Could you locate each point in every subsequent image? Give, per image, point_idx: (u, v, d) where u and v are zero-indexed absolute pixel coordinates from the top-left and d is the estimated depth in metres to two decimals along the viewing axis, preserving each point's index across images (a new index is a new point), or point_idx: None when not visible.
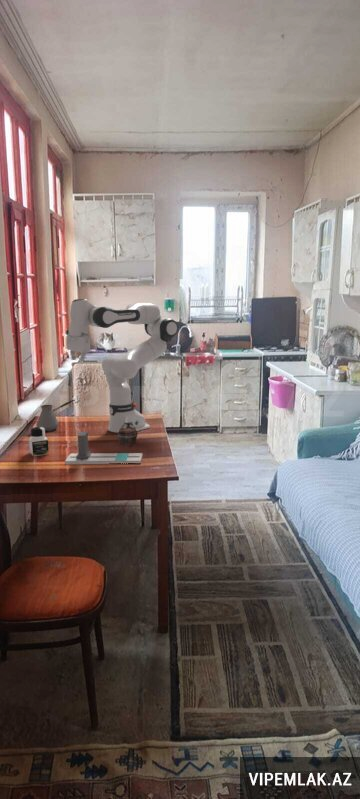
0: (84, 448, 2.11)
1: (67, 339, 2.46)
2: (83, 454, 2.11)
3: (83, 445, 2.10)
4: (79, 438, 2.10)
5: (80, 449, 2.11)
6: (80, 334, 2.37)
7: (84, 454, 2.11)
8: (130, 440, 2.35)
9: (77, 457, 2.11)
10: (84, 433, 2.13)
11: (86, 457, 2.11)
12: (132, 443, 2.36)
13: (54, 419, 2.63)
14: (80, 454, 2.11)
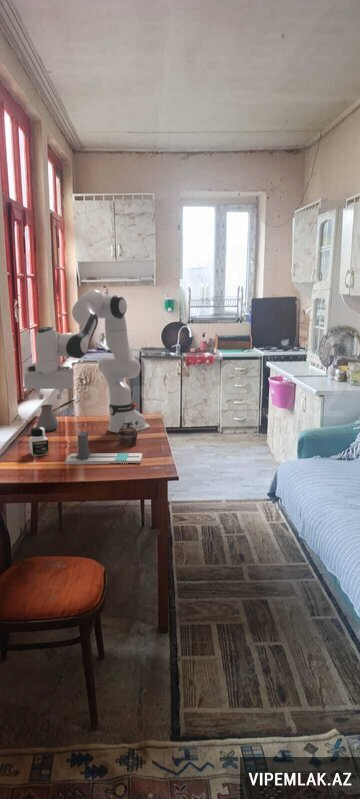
0: (84, 448, 2.11)
1: (28, 377, 2.05)
2: (83, 454, 2.11)
3: (83, 445, 2.10)
4: (79, 438, 2.10)
5: (80, 449, 2.11)
6: (57, 368, 2.06)
7: (84, 454, 2.11)
8: (130, 440, 2.35)
9: (77, 457, 2.11)
10: (84, 433, 2.13)
11: (86, 457, 2.11)
12: (132, 443, 2.36)
13: (54, 419, 2.63)
14: (80, 454, 2.11)
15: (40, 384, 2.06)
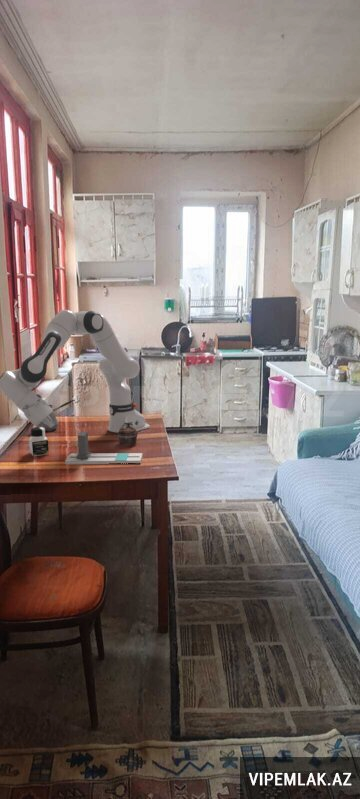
0: (84, 448, 2.11)
1: None
2: (83, 454, 2.11)
3: (83, 445, 2.10)
4: (79, 438, 2.10)
5: (80, 449, 2.11)
6: None
7: (84, 454, 2.11)
8: (130, 440, 2.35)
9: (77, 457, 2.11)
10: (84, 433, 2.13)
11: (86, 457, 2.11)
12: (132, 443, 2.36)
13: (54, 419, 2.63)
14: (80, 454, 2.11)
15: None
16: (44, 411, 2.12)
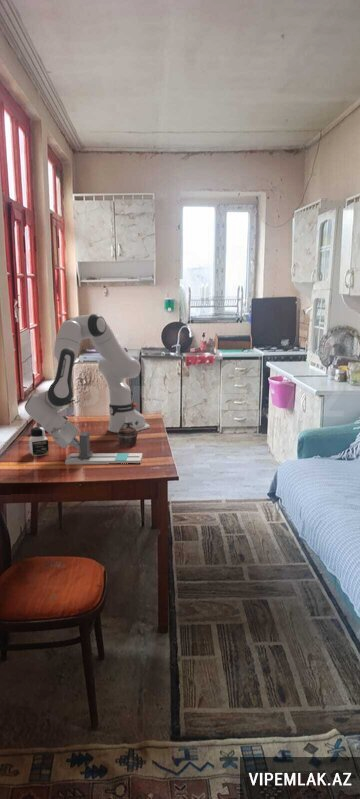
0: (86, 448, 2.11)
1: None
2: (84, 454, 2.11)
3: (85, 445, 2.10)
4: (81, 438, 2.10)
5: (82, 449, 2.11)
6: (53, 431, 2.08)
7: (86, 454, 2.11)
8: (130, 440, 2.35)
9: (79, 457, 2.11)
10: (86, 433, 2.13)
11: (88, 457, 2.11)
12: (132, 443, 2.36)
13: None
14: (82, 454, 2.11)
15: None
16: (71, 433, 2.14)
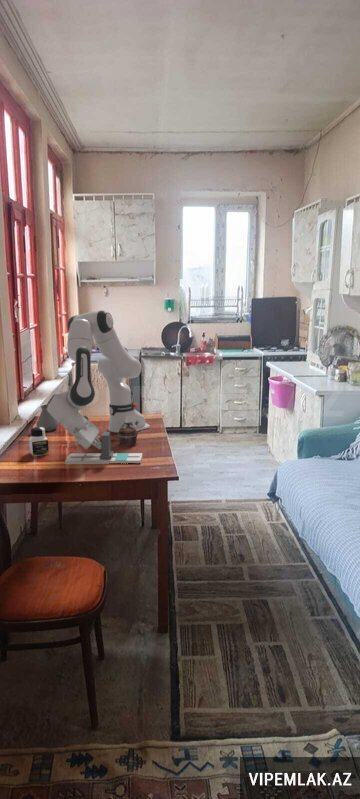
0: (107, 448, 2.10)
1: None
2: (106, 454, 2.11)
3: (106, 445, 2.10)
4: (102, 438, 2.09)
5: (103, 449, 2.10)
6: None
7: (107, 454, 2.11)
8: (130, 440, 2.35)
9: (100, 457, 2.11)
10: (107, 433, 2.12)
11: (109, 457, 2.11)
12: (132, 443, 2.36)
13: (54, 419, 2.63)
14: (103, 454, 2.11)
15: None
16: (92, 432, 2.13)
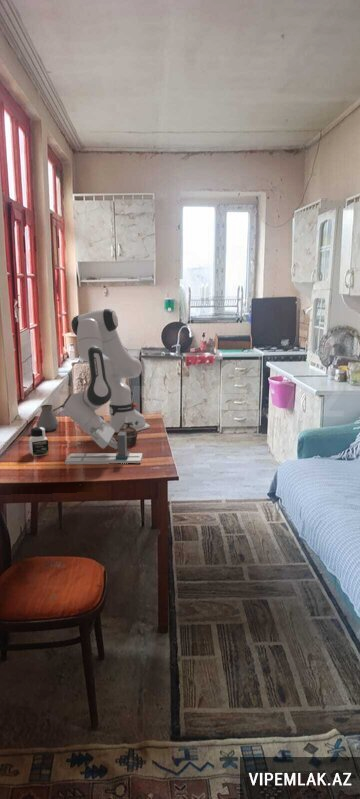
0: (124, 448, 2.10)
1: None
2: (122, 454, 2.11)
3: (123, 445, 2.10)
4: (119, 438, 2.09)
5: (120, 449, 2.10)
6: None
7: (124, 454, 2.11)
8: (130, 440, 2.35)
9: (117, 457, 2.11)
10: (123, 433, 2.12)
11: (126, 457, 2.10)
12: (132, 443, 2.36)
13: (54, 419, 2.63)
14: (120, 454, 2.11)
15: None
16: (109, 432, 2.13)
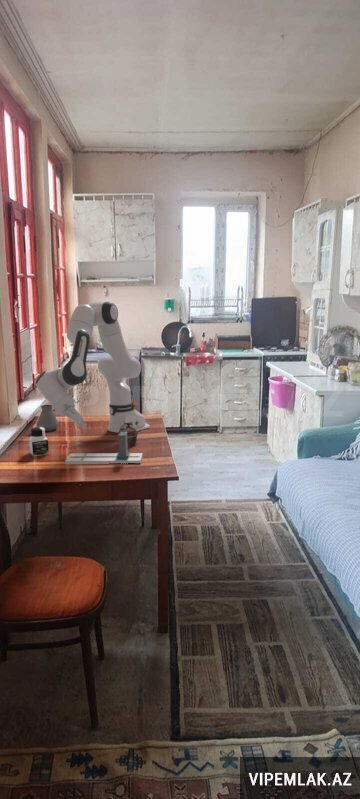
0: (124, 448, 2.10)
1: (65, 414, 2.20)
2: (123, 454, 2.11)
3: (124, 445, 2.10)
4: (120, 438, 2.09)
5: (120, 449, 2.10)
6: (64, 408, 2.08)
7: (124, 454, 2.11)
8: (130, 440, 2.35)
9: (117, 457, 2.11)
10: (124, 433, 2.12)
11: (126, 457, 2.10)
12: (132, 443, 2.36)
13: (54, 419, 2.63)
14: (120, 454, 2.11)
15: None
16: None
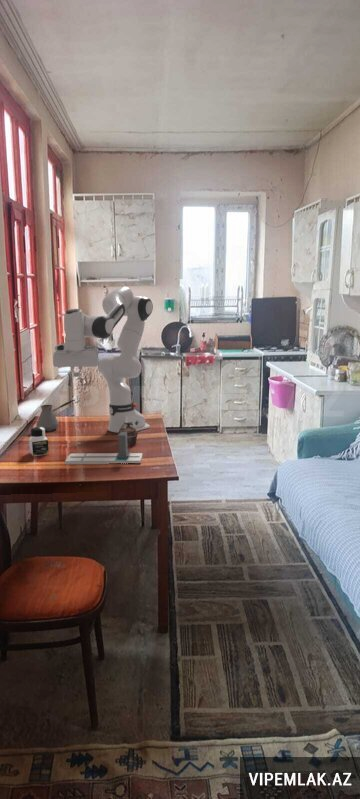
0: (124, 448, 2.10)
1: (56, 355, 2.20)
2: (123, 454, 2.11)
3: (124, 445, 2.10)
4: (120, 438, 2.09)
5: (120, 449, 2.10)
6: (84, 348, 2.21)
7: (124, 454, 2.11)
8: (130, 440, 2.35)
9: (117, 457, 2.11)
10: (124, 433, 2.12)
11: (126, 457, 2.10)
12: (132, 443, 2.36)
13: (54, 419, 2.63)
14: (120, 454, 2.11)
15: (68, 362, 2.21)
16: None
